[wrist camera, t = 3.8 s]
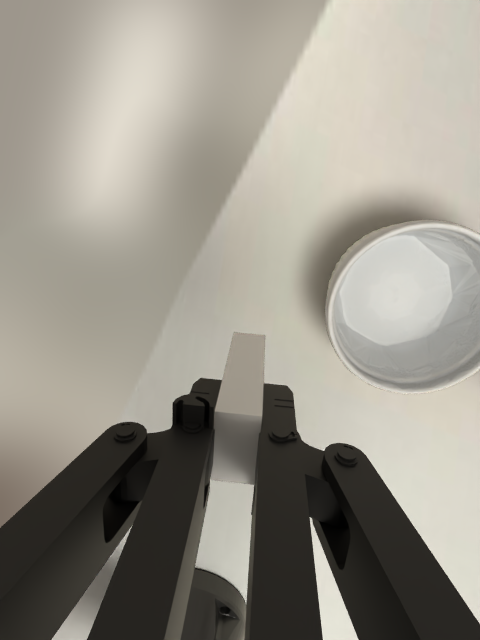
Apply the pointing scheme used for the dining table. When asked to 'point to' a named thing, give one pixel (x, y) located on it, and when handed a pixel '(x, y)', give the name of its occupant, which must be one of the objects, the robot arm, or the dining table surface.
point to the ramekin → (408, 306)
